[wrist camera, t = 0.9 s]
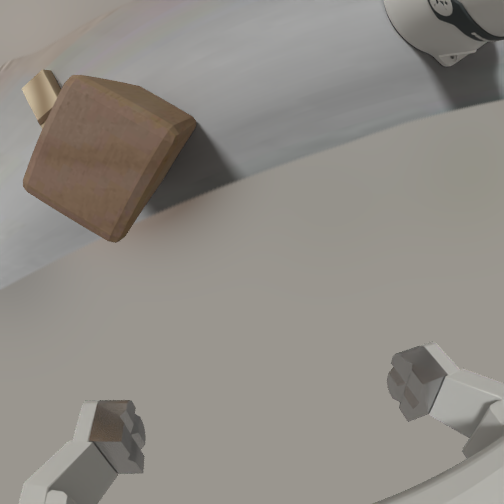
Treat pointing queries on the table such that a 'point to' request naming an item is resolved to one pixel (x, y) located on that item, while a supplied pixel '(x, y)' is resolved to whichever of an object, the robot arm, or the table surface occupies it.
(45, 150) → the wooden block
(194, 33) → the table surface
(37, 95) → the maple board
